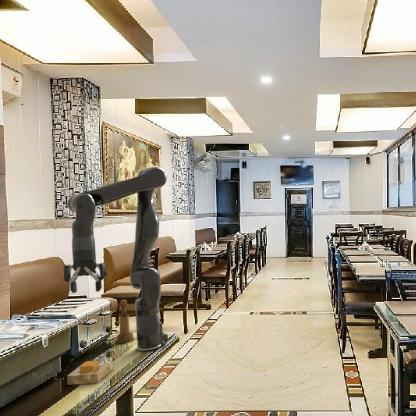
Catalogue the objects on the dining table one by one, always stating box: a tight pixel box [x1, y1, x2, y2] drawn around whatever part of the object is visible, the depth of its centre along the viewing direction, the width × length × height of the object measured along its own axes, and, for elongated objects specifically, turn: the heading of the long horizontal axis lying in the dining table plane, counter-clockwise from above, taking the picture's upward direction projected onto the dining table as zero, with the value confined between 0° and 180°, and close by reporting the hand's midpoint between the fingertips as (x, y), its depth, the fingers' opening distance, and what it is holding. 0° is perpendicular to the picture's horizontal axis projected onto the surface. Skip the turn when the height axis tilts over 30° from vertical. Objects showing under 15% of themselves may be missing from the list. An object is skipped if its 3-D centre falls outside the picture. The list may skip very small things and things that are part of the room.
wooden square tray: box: [66, 362, 111, 386], centre depth 149 cm, size 10×10×3 cm
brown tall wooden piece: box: [116, 299, 134, 344], centre depth 188 cm, size 7×6×18 cm
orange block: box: [79, 360, 100, 373], centre depth 149 cm, size 4×4×5 cm
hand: (86, 291), depth 158 cm, fingers open, 8 cm apart
